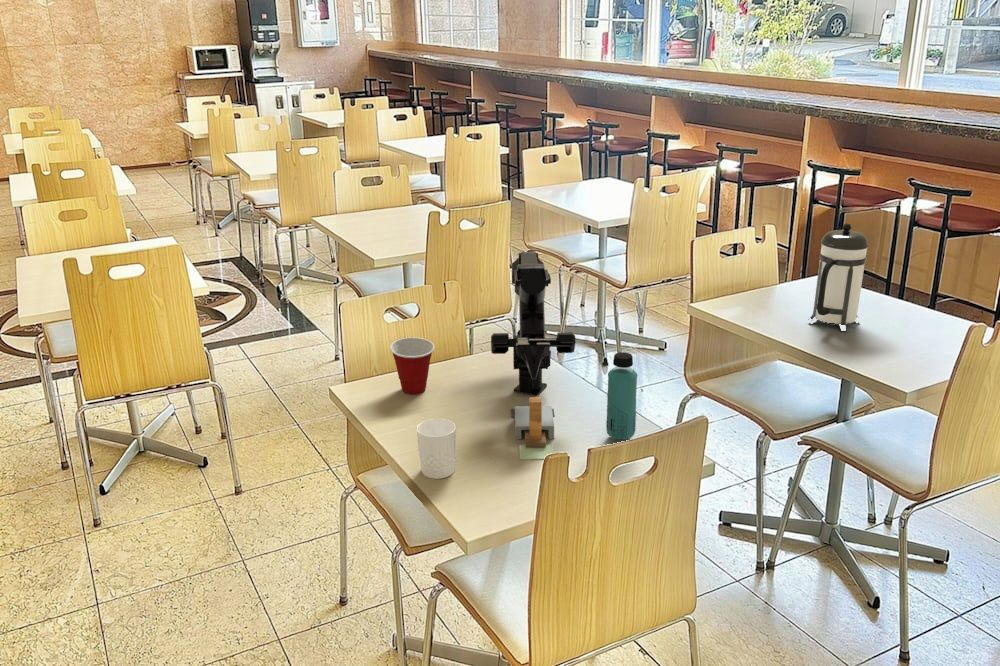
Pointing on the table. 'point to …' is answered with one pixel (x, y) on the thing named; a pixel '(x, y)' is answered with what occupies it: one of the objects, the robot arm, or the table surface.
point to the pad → (534, 452)
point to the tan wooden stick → (535, 424)
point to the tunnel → (523, 420)
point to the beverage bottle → (621, 397)
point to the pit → (514, 413)
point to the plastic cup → (412, 362)
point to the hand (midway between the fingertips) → (533, 378)
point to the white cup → (437, 447)
